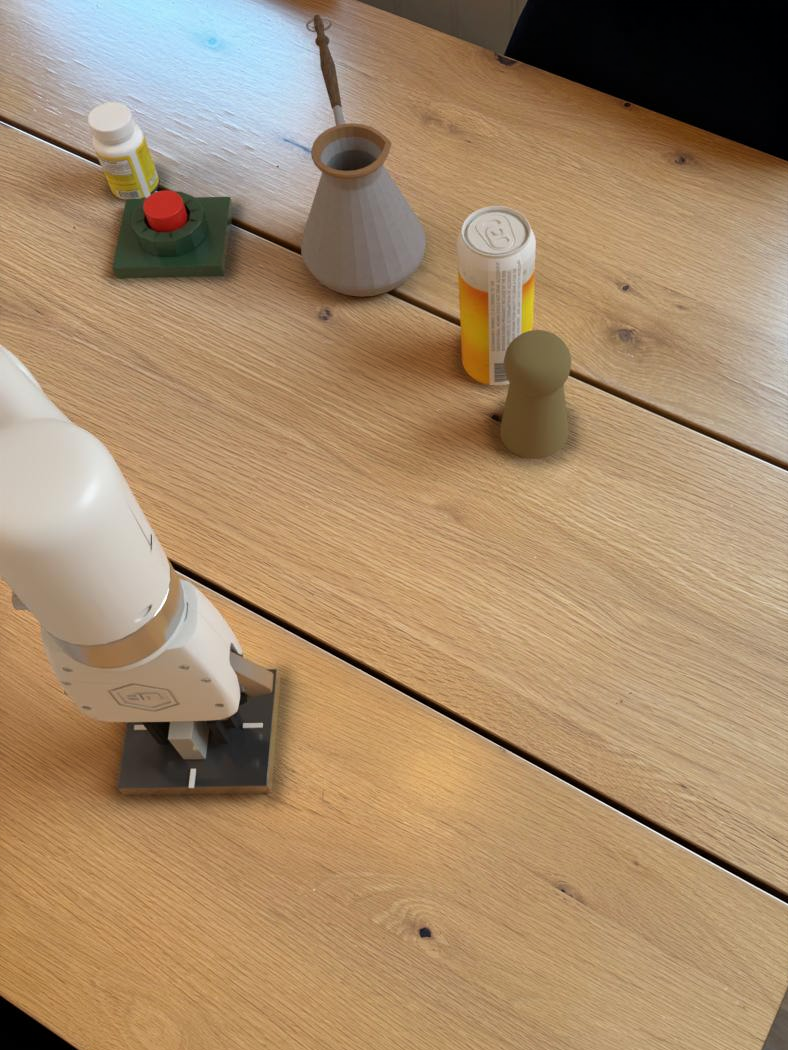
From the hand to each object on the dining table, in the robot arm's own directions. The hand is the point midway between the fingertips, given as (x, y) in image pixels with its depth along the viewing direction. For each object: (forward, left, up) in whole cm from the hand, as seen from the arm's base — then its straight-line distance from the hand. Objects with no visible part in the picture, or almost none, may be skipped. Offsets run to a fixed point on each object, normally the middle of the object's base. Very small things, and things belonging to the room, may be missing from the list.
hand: (196, 724), depth 75 cm
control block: (-8, +50, -3) cm, 51 cm away
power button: (-8, +50, +1) cm, 51 cm away
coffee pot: (+9, +52, -3) cm, 53 cm away
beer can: (+22, +35, -3) cm, 41 cm away
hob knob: (0, 0, 0) cm, 0 cm away
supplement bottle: (-13, +58, -3) cm, 60 cm away
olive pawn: (+25, +27, -3) cm, 37 cm away
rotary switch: (0, 0, -3) cm, 3 cm away
